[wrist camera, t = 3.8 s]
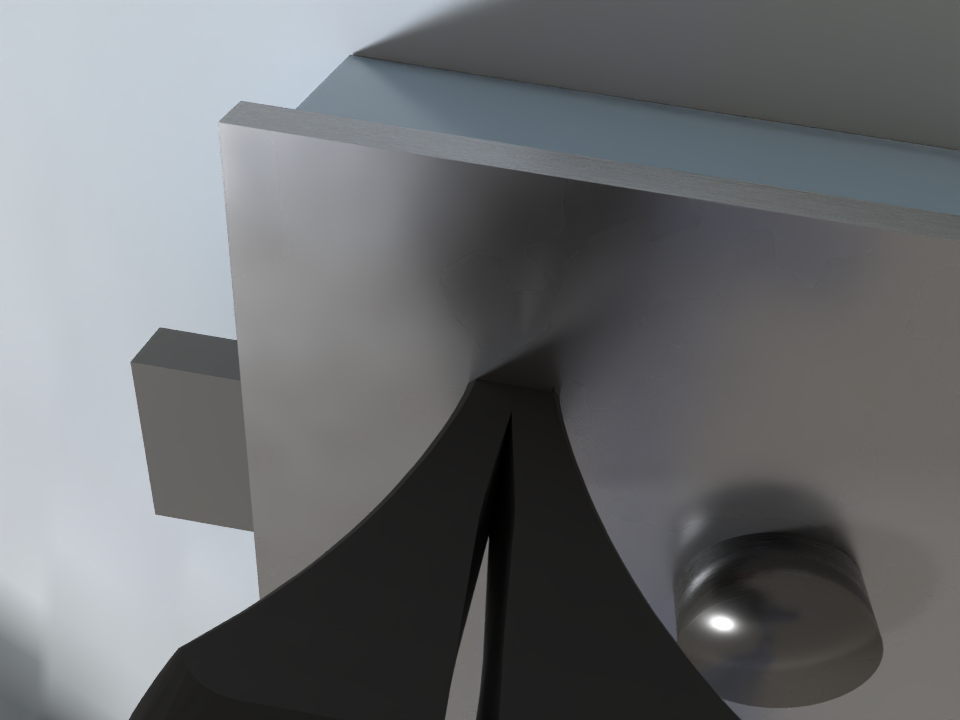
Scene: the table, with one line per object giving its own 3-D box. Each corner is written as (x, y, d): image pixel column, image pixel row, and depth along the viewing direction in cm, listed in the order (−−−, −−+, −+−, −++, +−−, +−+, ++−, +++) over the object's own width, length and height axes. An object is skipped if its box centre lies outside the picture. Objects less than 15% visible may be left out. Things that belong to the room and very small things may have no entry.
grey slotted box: (1080, 690, 22) (1163, 843, 19) (235, 540, 23) (175, 662, 20) (1513, 237, 14) (1786, 366, 11) (192, 30, 15) (78, 92, 12)
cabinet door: (1041, 833, 19) (1080, 930, 18) (281, 693, 20) (253, 775, 18) (1670, 329, 10) (1867, 434, 9) (241, 100, 11) (178, 160, 9)
